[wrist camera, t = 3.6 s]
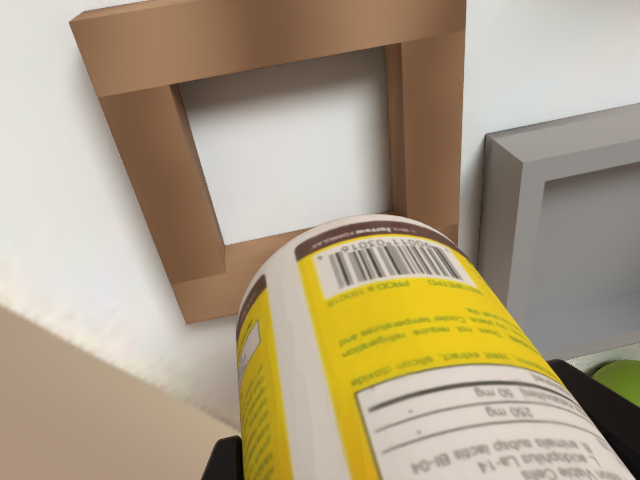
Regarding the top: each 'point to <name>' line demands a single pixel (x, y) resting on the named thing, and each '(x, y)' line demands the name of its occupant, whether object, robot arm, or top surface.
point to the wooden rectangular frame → (257, 52)
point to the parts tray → (566, 230)
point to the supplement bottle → (398, 368)
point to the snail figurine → (622, 379)
